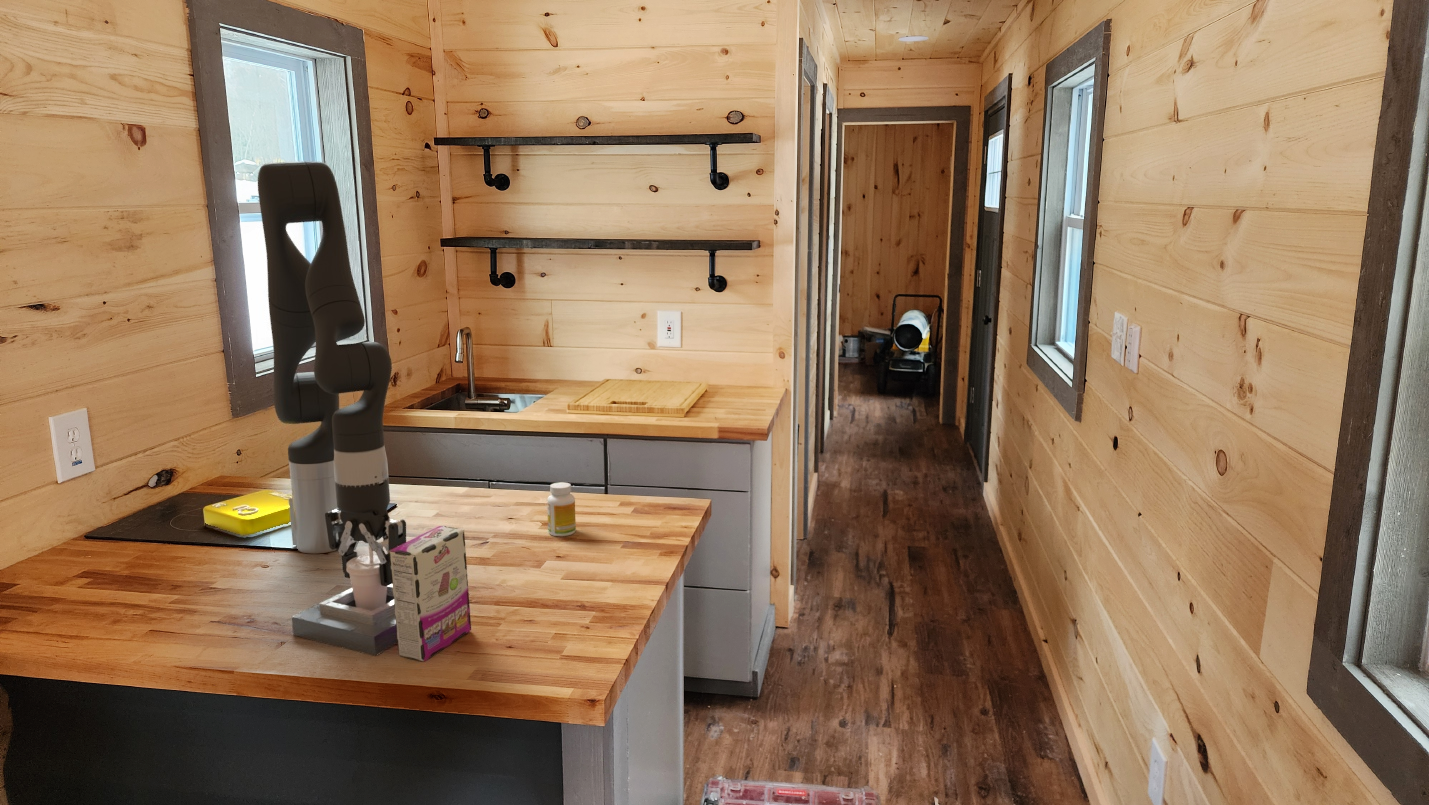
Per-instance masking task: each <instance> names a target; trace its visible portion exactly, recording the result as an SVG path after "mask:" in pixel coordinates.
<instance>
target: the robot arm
mask: <svg viewBox="0 0 1429 805" xmlns="http://www.w3.org/2000/svg"><path fill="white" fill-rule="evenodd" d="M257 174H258V175H257V192H258V193H257V194H258V201H259V209H260V215H261V222H262V229H263V237H264V243H265V251H266V252H265V253H266V266H267V269H266V270H267V293H268V294H267V297H268V299H267V300H268V310H269V320H270V328H271V336H272V337H271V338H272V348H273V404H274V410H275V414H276V417H277V418H278V420H279V421H280V422H281V423H283V424H285V425H286V424H287V425H299V424H308V423H309V424H310V423H319V422H320V425H319V426H318V427H317V428H316V429H315V430H314V431H312V432H310V433H309V434H307V435H306V436H303V437H300V438H299V439H298V438H297V439H296V440H294V441H292V442H291V443H289V445H288V447H287V455H288V456H287V457H288V459H287V460H288V468H289V477H290V487H291V496H292V497H291V498H289V509H290V520H291V525H290V527H291V538H292V546H293V545H296V546H297V547H296V549H298V550H297V551H298V552H301V553H305V554H324V553H330V552H335V551H337V552H338V554H339V555H340V556H341V567H342V572H343V575H344V578H345V579H350V575H349V573H348V572H347V571H346V569H347V566H346V564H347V562H348V561H349V560H351V559H353V558H355V557H358V552H357V551H355V550H357V548H358V544H359V542H363V543H365V544H367V545H368V547H369V546H370V548H371V550H372V551H373V552H375V554H377V556H378V558H379V560H380V562H381V563H379V567H380V581H381V585H382V586H388V585H390V584H392V574H391V563H390V552H389V551H390V550H392V549H394V548H396V547H398V546H400V545H402V544H404V543H406V542H407V522H406V520H405V519H403V518H401V519H399V520H395V519H391V517H390V515H389V513H388V507H389V504H390V502H391V496H390V479H389V468H388V467H389V466H388V456H387V453H386V448H385V446H386V445H385V438H384V437H385V436H384V419H383V418H384V410H385V405H386V399H387V393H388V390H389V386H390V385H389V384H390V382H391V376H392V370H393V369H392V368H393V366H392V358H391V355H390V353H389V351H388V350H387V348H386V347H385V346H384V345H383V344H382V343H379V342H376V341H368V342H367V341H366V342H365V341H364V342H355V343H344V344H338V342H339V341H342V340H343V341H344V340H345V339H349V338H351V337H354V336H355V335H358V334H359V333H360V332H361V331H362V330H363V329H364V326H365V323H366V320H365V314H364V311H363V308H362V305H361V301H360V298H359V297H360V296H359V294H358V291H357V288H356V285H355V282H354V278H353V277H354V276H353V273H352V269H351V262H350V257H349V247H348V241H347V234H346V229H345V228H346V227H345V222H344V217H343V210H342V204H341V199H340V193H339V187H338V184H337V180H336V177H335V175H334V173H333V171H332V169H331V167H330V165H328V164H327V163H325V162H323V161H316V160H315V161H314V160H312V161H310V160H309V161H308V160H306V161H301V160H300V161H283V162H278V161H277V162H267V163H264V164H263V165H261V166H260V168H259V170H258V172H257ZM310 222H321V225H322V226H321V227H322V235H321V239H320V243H319V244H318V247H317V250H316V252H315V254H314V256H313V258H312V261H309V260H308V258H306V256H304V255H303V253H301V251H300V250H299V249H298V248H297V246H296V245H295V242H294V241H293V240H292V238H291V237H290V235H289V234H288V231H287V225H288V224H295V223H296V224H297V223H299V224H300V223H310ZM314 345H315V354H314V364H313V368H314V370H313V371H309V372H307V371H306V372H297V370H298V367H299V364H300V362H301V361H302V359H304V356H305V355H306V353H308V352H309V350H310V349H311V348H312V347H313V346H314ZM354 392H362V394H361V396H360V398H359V399H358V400H357V401H355V402H354V403H352V404H350V405H347V406H344V407H342V408H340V394H346V393H347V394H348V393H354ZM381 539H382V541H381V542H378V541H379V540H381ZM384 549H385V550H384Z"/></svg>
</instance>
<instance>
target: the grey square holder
mask: <svg viewBox="0 0 1429 805" xmlns="http://www.w3.org/2000/svg"><path fill="white" fill-rule="evenodd" d="M291 621H292V622H291V624H292V634H293V636H295V637H299V638H303V639H307V640H311V641H315V642H318V643H319V642H320V643H323V644H327V645H329V646H330V645H331V646H334V647H339V648H342V647H343V649H346V650H350V651H354V652H359V653H362V652H363V654H367V655H371V656H374V655H375V656H374V657H376V656H378V655H379V653H380V654H382V653H383V652H385V651H386V650H388V649H390V648H392V647H393V646H395V645H398V640H397V629H396V618H395V606H394V595H393V586H392V584H390V585H388V586H387V595H386V604H385V605H383V606H381V607H379V608H377V609H375V610H373V611H370V610H365V609H361V608H356V604H355V599H354V594H353V589H352V586H351V587H349V588H347V589H345V590H343V591H341V592H339V593H337V594H335V595H333V596H332V597H329V598H327V599H325V600H323V601H321V602H319V603H317V604H314V605H313V606H310V607H308V608H307V609H305V610H303V611H300V612H298V613H297V614H294V615H292V616H291ZM391 646H392V647H391ZM377 654H378V655H377Z"/></svg>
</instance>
